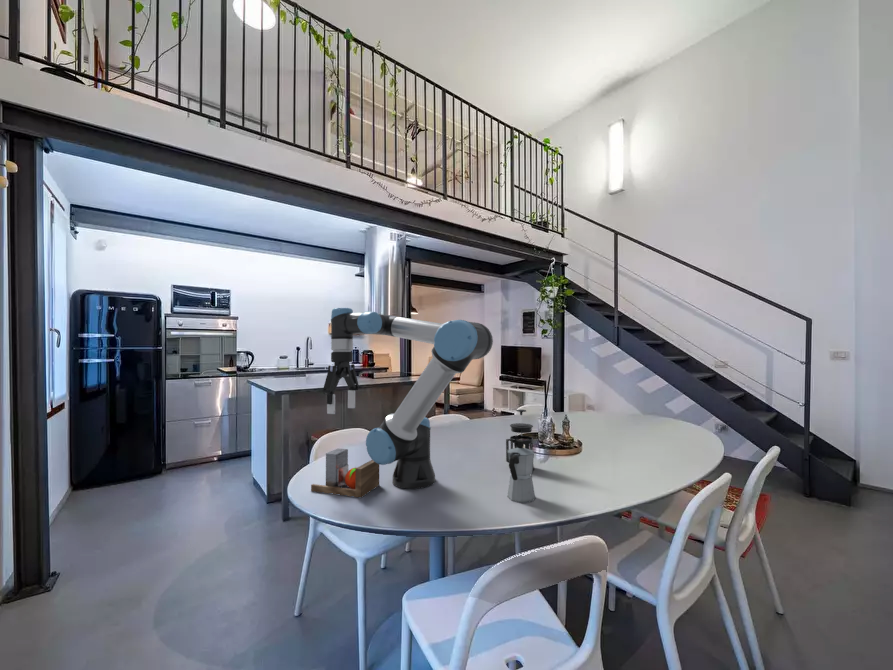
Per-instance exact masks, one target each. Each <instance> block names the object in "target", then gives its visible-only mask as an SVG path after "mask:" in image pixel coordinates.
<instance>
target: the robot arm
mask: <svg viewBox="0 0 893 670" xmlns="http://www.w3.org/2000/svg"><path fill="white" fill-rule="evenodd" d="M353 311H354V310H353V309H352V308H350V307H334V308H333V309H332V310H331V316H330V317H331V318H330V323H331V324H330V328H331V329H330V331H331V332H330V333H331V335H330V337H331V338H330V339H331V342H330V344H331V345H330V346H331V348H330V349H331V351H332V352H331V353H330V362H331V363H333V364H329V365H327V366H328V367H327V374H326V377H325V381H324V385H323V387H322V388H323V389H322V394H323V395H326V413H327V415H336V394H335V392H336V389H337V387H338V384H339V383H340V380H341V379H344V381H345V384H346V385H347V388H348V390H347V409H356V391H358V390H359V387H360V385H359V381H358V377H357V374H356V368H355V365H356V364H354V363H352V362H354V361H353V360H354V359H353V358H354V357H353V356H354V353H353V350H354V340H353V339H354V337H353V336H354V335H376V336H377V335H379V336H380V335H382V336H389V337H395V338H399V339H406V340H410V341H415V342H420V343H427V344H431V345H433V348H432V349H431V355H432V358H431V359H430V361H429V363H427V365H426V366H425V368H424V370H423V371H422V372H421V374H420V375H419V377H418V378H417V380H416V381H415V382H414V384H413V386H412V387H411V389H410V390H409V391H408V393H407V394H406V396H405V397H404V399H403V400H402V402H401V403H400V405H399V406H398V407H397V409H396V411H395V412H394V413H390V414H387V416H386V417H385V418H384V419H383V421H382V422H381V424H380V426H379V427H374V428H373V429H371V430H370V431H369V432H368V434H367V435H366V438H365V446H366V451H367V454H368V455H369V457H370V459H371V460H373V461H374V462H376V463H377V464H379V466H386V465H390V464H393V463H394V462H396V463H395V468H394V471H393V473H392V484H393V486H395V487H397V488H401V489H407V490H408V489H409V490H415V489H424V488H427V487H430V486H432V485H434V484H435V482H436V474H435V470H434V467H433V464H432V461H431V422H430V419H429V418H428V417H426V416H427V415H428V413H429V412H430V411H431V409H432V407H433V406H434V405H435V403H436V402H437V400H439V398H440V397H441V395H442V394H443V392H444V391H445V389H446V388H447V387H448V385H450V382H451V381H452V380H453V379H454V376H455V375H456V374H462V373H463V372H464V371H466V369H467V367H468V366H469V365H470V363H471V362H472V360H479V359H482V358H485V357H486V356H487V355H488V354H489V353H490V352H491V350H492V348H493V347H492V346H493V343H494V339H493V338H494V337H493V335H492V332H491V330H490V329H489V328H488V327H487V326H486V325H484V324H482V323H479V322H475V321H474V322H473V321H468V320H464V319H453V320H448V321H446V322H444V323H440V322H434V321H429V320H428V321H427V320H421V319H415V318H410V317H409V318H407V317H403V316H402V317H401V316H396V315H391V314H390V315H389V314H380V313H378V312H376V311H364V312H363V311H361V312H353Z"/></svg>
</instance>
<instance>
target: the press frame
mask: <svg viewBox="0 0 893 670" xmlns="http://www.w3.org/2000/svg"><path fill="white" fill-rule="evenodd" d="M355 468H356V480H355V489H351V488H349V487H348V488H346V487H342V488H340V487H333V486H326V484H325V485H323V484H318V483H317V484H316V483H312V484H310V491H311V492H314V491H315V492H316V493H322V492H324V494H329V493H333V494H332V495H336V494H340V495H339V496H344V495H347V496H346V497H351V496H354V497H353V498H358V497H361V498H362V496H363V497H364V496H366V495H367V494H368V492H369V491H370V492H372V491H373V490H375V489H376V488H378V487H379V486H380V464H377V463H376V462H374V461H373V460H372V459H371V460H369V461H367V462H365V463H363V464H361V465H360V466H357V467H355ZM378 485H379V486H378ZM375 487H376V488H375ZM374 488H375V489H374ZM372 489H373V490H372ZM371 490H372V491H371ZM370 492H369V493H370ZM365 494H366V495H365Z"/></svg>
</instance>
